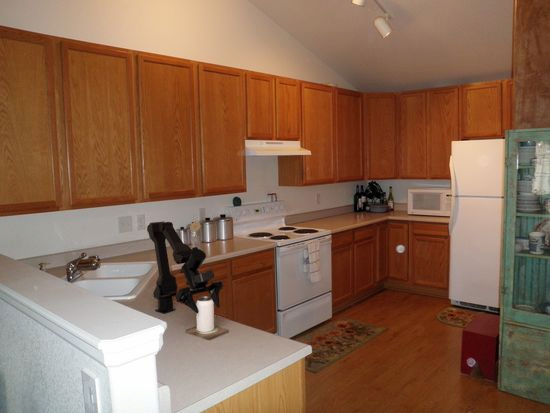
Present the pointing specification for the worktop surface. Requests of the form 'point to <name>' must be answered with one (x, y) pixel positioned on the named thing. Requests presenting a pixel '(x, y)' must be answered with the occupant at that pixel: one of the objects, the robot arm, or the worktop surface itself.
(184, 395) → the worktop surface
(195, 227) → the flower in vase
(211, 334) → the coaster board
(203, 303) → the can
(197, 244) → the salt shaker
